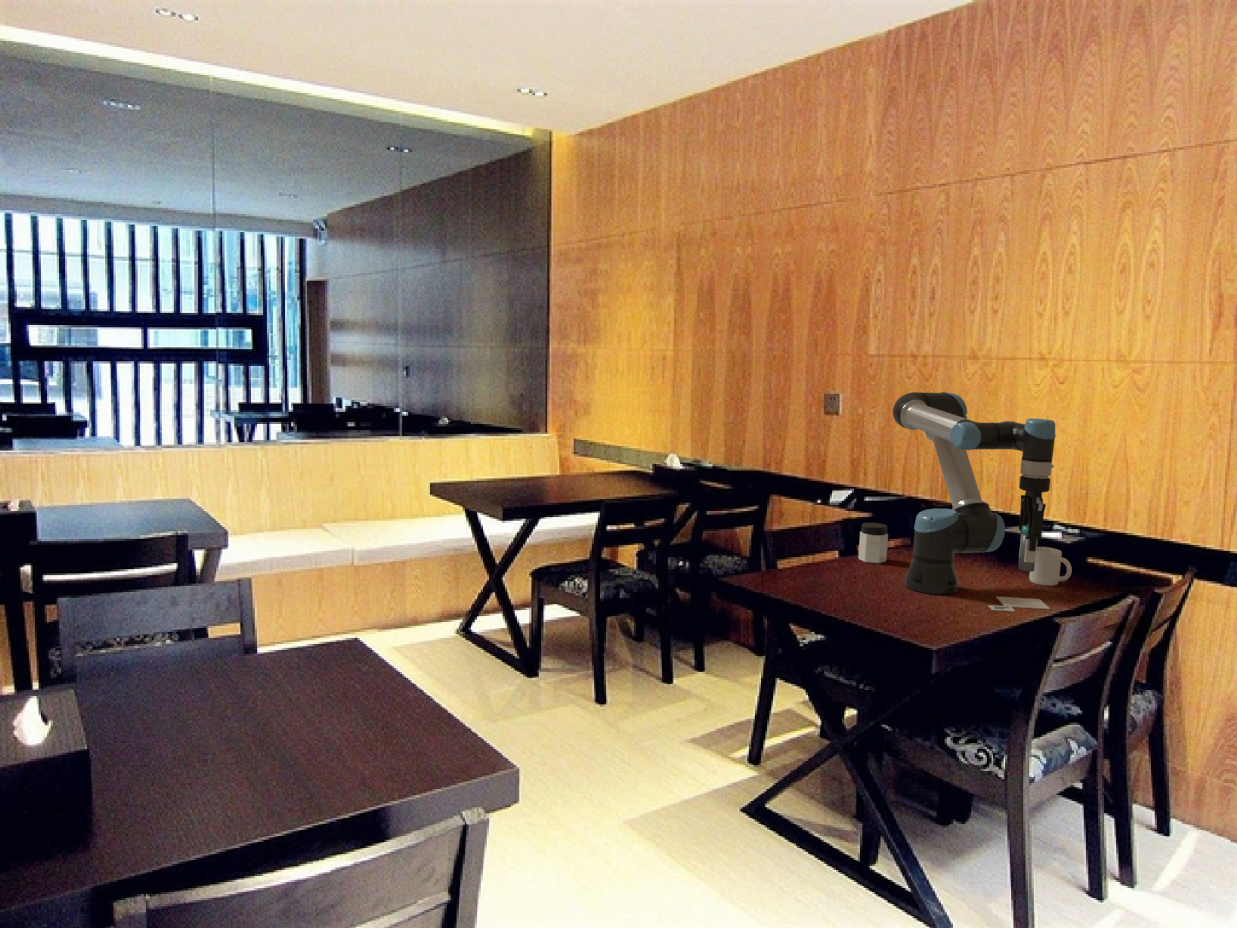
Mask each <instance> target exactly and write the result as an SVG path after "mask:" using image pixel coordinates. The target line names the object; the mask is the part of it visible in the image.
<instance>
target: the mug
mask: <svg viewBox="0 0 1237 928" xmlns="http://www.w3.org/2000/svg"><path fill="white" fill-rule="evenodd" d="M1062 553H1063V552H1062V551H1061V550H1060V549H1058V548H1053V547H1046V546H1037V551H1036V561H1035V567H1034V571H1032V572H1029V577H1028V578H1029V581H1030V582H1031V583H1033V584H1035V585H1039V586H1047V587H1054V586H1057V585H1059V582H1065V581H1067V580H1068V579H1069V578H1070V577H1071V575H1072V573H1073V572H1072V571H1073V570H1072V565H1071V563H1070V561H1069V560H1068V559H1066V558H1065V557H1062ZM1061 563H1063V564H1064V565H1065V566H1066V573H1065V574H1064V576H1061V575H1060V573H1061V572H1060V571H1061V565H1062V564H1061Z"/></svg>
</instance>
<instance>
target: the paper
mask: <svg viewBox="0 0 1237 928" xmlns="http://www.w3.org/2000/svg"><path fill="white" fill-rule="evenodd" d="M995 598H996V599H997V601H999V602H1000V604H1002V606H1010V607H1012V608H1018V609H1019V608H1021V609H1034V610H1035V609H1037V610H1050V609H1051V608H1050V607H1049V606H1048V605H1047V604H1045V602H1043V601H1042V600H1041V599H1039V598H1029V597H1028V598H1027V597H1026V598H1025V597H1024V598H1023V597H1012V596H1011V597H1010V596H996V597H995Z"/></svg>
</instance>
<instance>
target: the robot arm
mask: <svg viewBox="0 0 1237 928" xmlns="http://www.w3.org/2000/svg"><path fill="white" fill-rule="evenodd" d="M967 414H968V407H967V405H966V402H965V401H964V399H963V398H962V397H961V396H960V395H958V394H956V393H955V392H954V393H953V392H947V391H943V392H917V391H916V392H915V391H914V392H908V393H905V394H903V395H901V396H900V397H899V398H897V400H896V401H895V403H894V405H893V408H892V417H893V420H894V421H895V422H896V424H897V425H899V426H900V427H902V428H904V429H906V430H910V431H917V430H919V431H922V432H923V433H925V436H926V438H927V439H928V440H931V441H932V442H933V445H934V449H935V452H936V456H937V459H938V461H939V465H940V469H941V471H942V476H943V479H944V482H945V485H946V488H947V491H948V495H949V499H950V503H951V505H952V506H951V507H952V508H951V509H950V508H931V509H930V508H929V509H928V508H927V509H924V510H922V511H920V512H918V514H917V515H916V518H915V522H914V527H913V528H914V533H913V534H914V535H913V549H912V560H911V563H910V565H909V567H908V570H907V572H906V574H905V576H904V577H905V578H904V586H905V588H908V589H910V590H912V591H916V592H918V593H924V594H930V595H931V594H934V595H949V594H950V595H951V594H955V593H957V592H958V591H959V581H958V576H957V573H956V569H955V565H954V564H955V563H954V561H955V554H966V553H967V554H968V553H969V554H970V553H980V554H982V553H991V552H995V550H997V549H999V547H1000V546H1001V545H1002V543H1003V541H1004V538H1005V530H1006V529H1005V522H1004V520H1003V518H1002V516H1001V515H999V514H998V513H996V512H992V511H991V508H990V504H989V503H988V502H986V501H984V500H982V496H981V494H980V490H979V488H978V483H977V481H976V477H975V474H974V470H973V468H972V463H971V461H970V457H969V455H968V452H967V451H973V450H1014V451H1020V452H1022V454H1021V455H1022V456H1021V462H1020V471H1019V472H1020V474H1021V475H1020V476H1019V485H1018V486H1019V490H1022V491H1024V494H1020V511H1019V523H1018V530H1019V531H1020V537H1021V536H1022V526H1024V525H1027V524H1028V537H1025V539H1026V547H1025V557H1024V562H1032V563H1035V561H1036V551H1037V547H1038V540H1041V539H1042V534H1043V533H1042V532H1043V525H1044V516H1045V510H1046V506H1047V504H1046V503H1044V499H1043V496H1042V494H1043V493H1047V492H1049V491H1050V488H1051V486H1050V485H1051V478H1050V476H1051V475H1052V469H1053V468H1054V464H1052V463H1053V457H1054V450H1055V449H1054V448H1055V441H1056V440H1055V438H1056V437H1057V436H1056V422H1055V421H1054V420H1053V419H1047V418H1027V419H1026V420H1025V423H1021V422H1020V423H1019V422H1016V421H1011V420H1010V421H1009V420H1008V421H1007V420H1006V421H999V422H980V421H979V422H978V421H974V420H971V419H968V416H967ZM1019 542H1020V543H1019V544H1020V545H1019V547H1020V546H1021V541H1019ZM1019 556H1020V551H1019V554H1018V557H1019Z"/></svg>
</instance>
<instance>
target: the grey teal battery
mask: <svg viewBox="0 0 1237 928" xmlns="http://www.w3.org/2000/svg"><path fill="white" fill-rule="evenodd" d="M1025 537H1028V524H1027V525H1024V526H1022V536H1021V535H1020V542H1021V546H1020V545H1019V552H1020V556H1019V555H1018V567H1017V569H1018V570H1019V571H1022V572H1029V573H1030V572H1032V571H1034V567H1035V563H1032V562H1024V557H1025V547H1026V539H1025Z"/></svg>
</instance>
